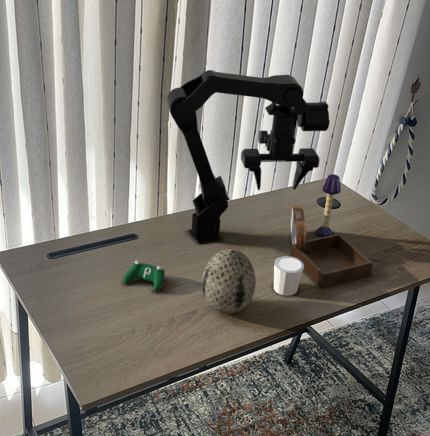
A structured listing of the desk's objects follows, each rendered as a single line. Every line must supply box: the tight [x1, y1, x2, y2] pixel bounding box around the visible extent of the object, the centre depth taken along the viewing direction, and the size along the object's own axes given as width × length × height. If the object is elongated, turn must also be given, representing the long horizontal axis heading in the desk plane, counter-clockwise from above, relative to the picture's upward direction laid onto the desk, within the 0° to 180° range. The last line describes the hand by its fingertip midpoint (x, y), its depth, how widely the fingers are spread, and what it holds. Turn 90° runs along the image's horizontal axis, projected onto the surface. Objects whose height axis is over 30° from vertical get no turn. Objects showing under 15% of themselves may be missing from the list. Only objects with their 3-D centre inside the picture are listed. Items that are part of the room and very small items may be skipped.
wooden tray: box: [289, 233, 374, 289], centre depth 167 cm, size 14×14×4 cm
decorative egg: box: [201, 248, 257, 315], centre depth 146 cm, size 12×12×15 cm
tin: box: [290, 205, 307, 252], centre depth 173 cm, size 15×3×8 cm, turn 179°
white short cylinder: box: [273, 255, 304, 297], centre depth 157 cm, size 7×7×7 cm
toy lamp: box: [315, 173, 342, 238], centre depth 176 cm, size 5×5×17 cm
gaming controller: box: [122, 260, 166, 293], centre depth 156 cm, size 9×4×6 cm
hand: (276, 189), depth 171 cm, fingers open, 9 cm apart
